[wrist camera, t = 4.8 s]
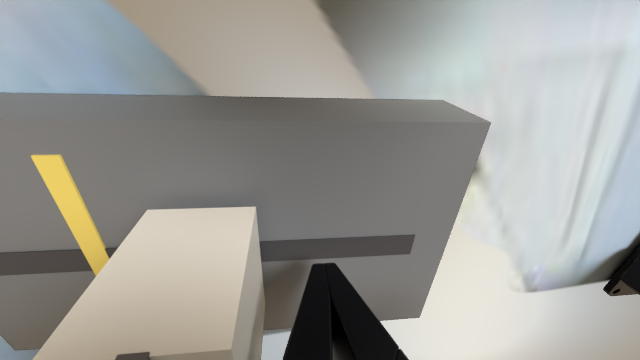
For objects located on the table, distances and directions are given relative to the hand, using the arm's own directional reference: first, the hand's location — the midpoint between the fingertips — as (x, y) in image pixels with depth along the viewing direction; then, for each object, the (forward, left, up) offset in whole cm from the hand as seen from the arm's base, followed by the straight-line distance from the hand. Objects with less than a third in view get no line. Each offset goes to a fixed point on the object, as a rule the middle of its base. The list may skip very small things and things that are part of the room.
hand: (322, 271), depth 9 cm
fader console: (+4, 0, -4) cm, 6 cm away
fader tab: (+4, 0, -1) cm, 4 cm away
